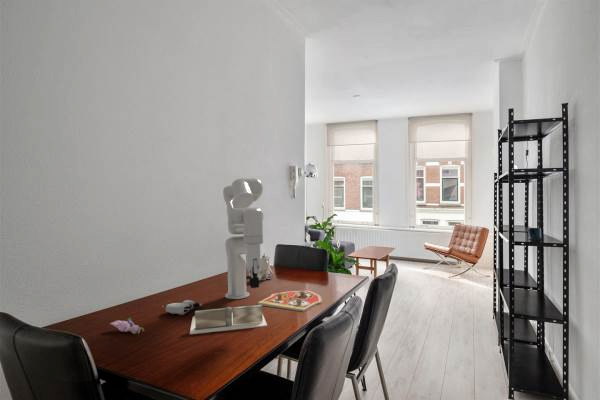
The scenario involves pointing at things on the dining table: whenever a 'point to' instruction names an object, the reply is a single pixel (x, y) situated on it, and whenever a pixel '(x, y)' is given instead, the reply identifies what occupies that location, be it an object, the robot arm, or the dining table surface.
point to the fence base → (213, 318)
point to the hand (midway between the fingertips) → (254, 286)
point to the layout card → (224, 328)
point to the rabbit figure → (127, 326)
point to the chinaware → (264, 269)
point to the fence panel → (247, 314)
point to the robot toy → (181, 307)
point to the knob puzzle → (292, 300)
